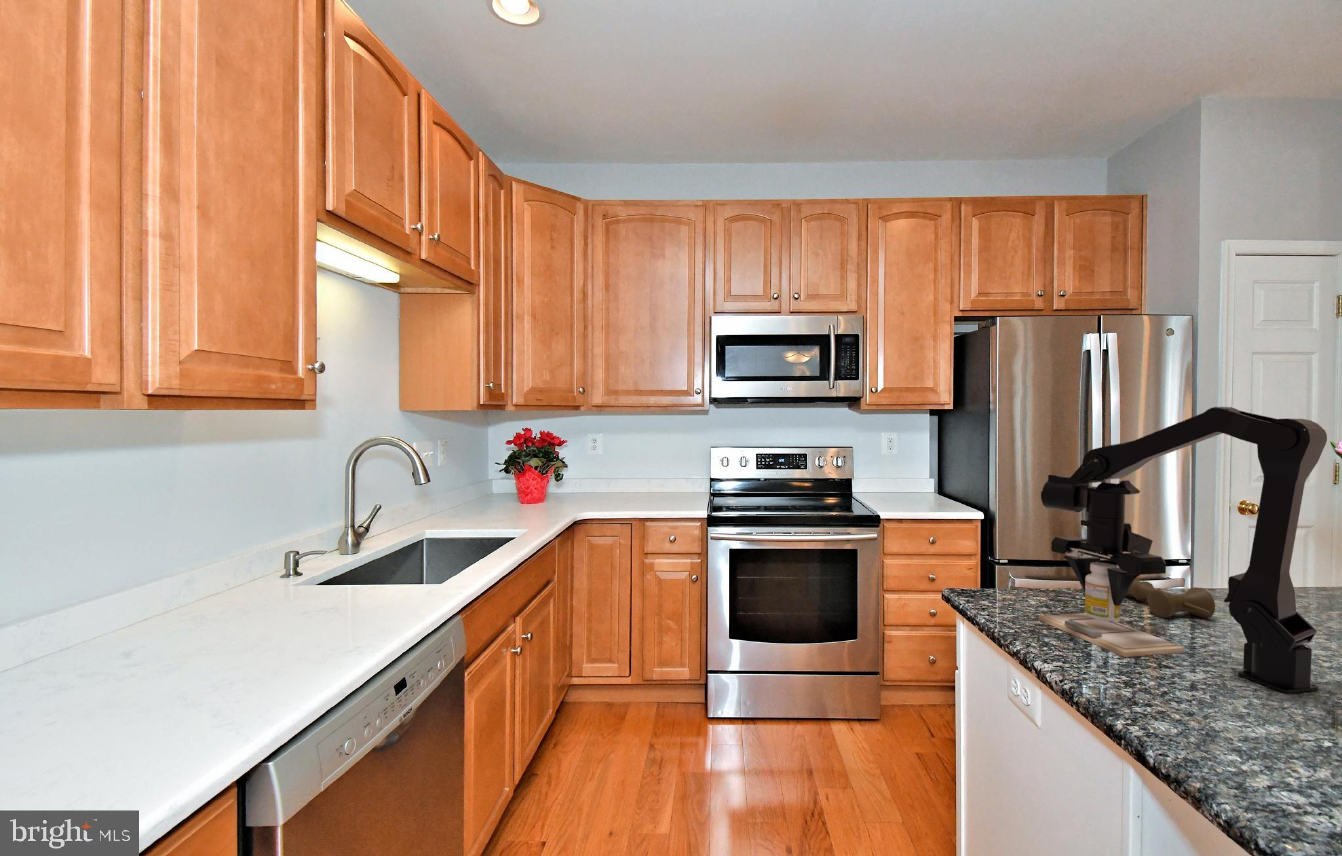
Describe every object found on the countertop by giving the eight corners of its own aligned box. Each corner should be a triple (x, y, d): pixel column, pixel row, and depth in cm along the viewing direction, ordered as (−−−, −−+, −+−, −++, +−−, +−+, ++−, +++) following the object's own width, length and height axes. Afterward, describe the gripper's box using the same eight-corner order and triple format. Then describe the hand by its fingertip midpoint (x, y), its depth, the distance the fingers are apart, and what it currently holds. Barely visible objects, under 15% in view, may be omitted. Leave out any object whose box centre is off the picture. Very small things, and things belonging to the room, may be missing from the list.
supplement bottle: (1108, 612, 115) (1110, 561, 114) (1127, 622, 109) (1128, 568, 109) (1078, 611, 115) (1079, 560, 115) (1095, 621, 110) (1096, 567, 109)
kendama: (1148, 598, 135) (1234, 627, 115) (1105, 599, 135) (1184, 629, 115) (1147, 571, 135) (1233, 596, 115) (1105, 572, 135) (1184, 597, 115)
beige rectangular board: (1184, 652, 103) (1184, 641, 102) (1124, 656, 100) (1125, 645, 100) (1091, 616, 120) (1091, 607, 120) (1038, 619, 118) (1039, 610, 118)
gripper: (1193, 524, 104) (1190, 614, 104) (1097, 507, 122) (1095, 584, 123) (1139, 525, 102) (1137, 618, 102) (1050, 508, 120) (1048, 586, 121)
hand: (1103, 600), depth 112 cm, fingers closed on supplement bottle, 5 cm apart
